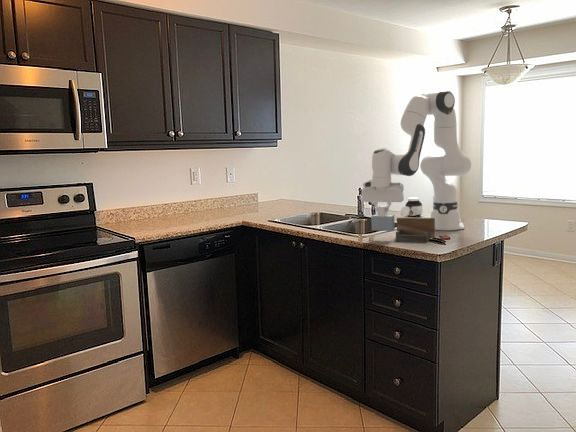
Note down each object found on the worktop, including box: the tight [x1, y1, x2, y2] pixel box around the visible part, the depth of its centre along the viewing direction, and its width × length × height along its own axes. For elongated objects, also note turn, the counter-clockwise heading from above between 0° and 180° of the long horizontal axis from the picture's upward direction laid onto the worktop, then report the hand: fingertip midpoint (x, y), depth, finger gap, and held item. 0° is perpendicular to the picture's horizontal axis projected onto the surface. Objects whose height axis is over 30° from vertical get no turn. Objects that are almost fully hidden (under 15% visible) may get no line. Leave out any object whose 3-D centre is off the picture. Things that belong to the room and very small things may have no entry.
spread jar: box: [399, 197, 423, 218], centre depth 292 cm, size 12×11×12 cm
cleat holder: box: [395, 216, 436, 243], centre depth 224 cm, size 10×18×10 cm, turn 62°
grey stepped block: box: [370, 205, 396, 232], centre depth 227 cm, size 6×10×12 cm, turn 61°
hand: (382, 211), depth 226 cm, fingers closed on grey stepped block, 3 cm apart
